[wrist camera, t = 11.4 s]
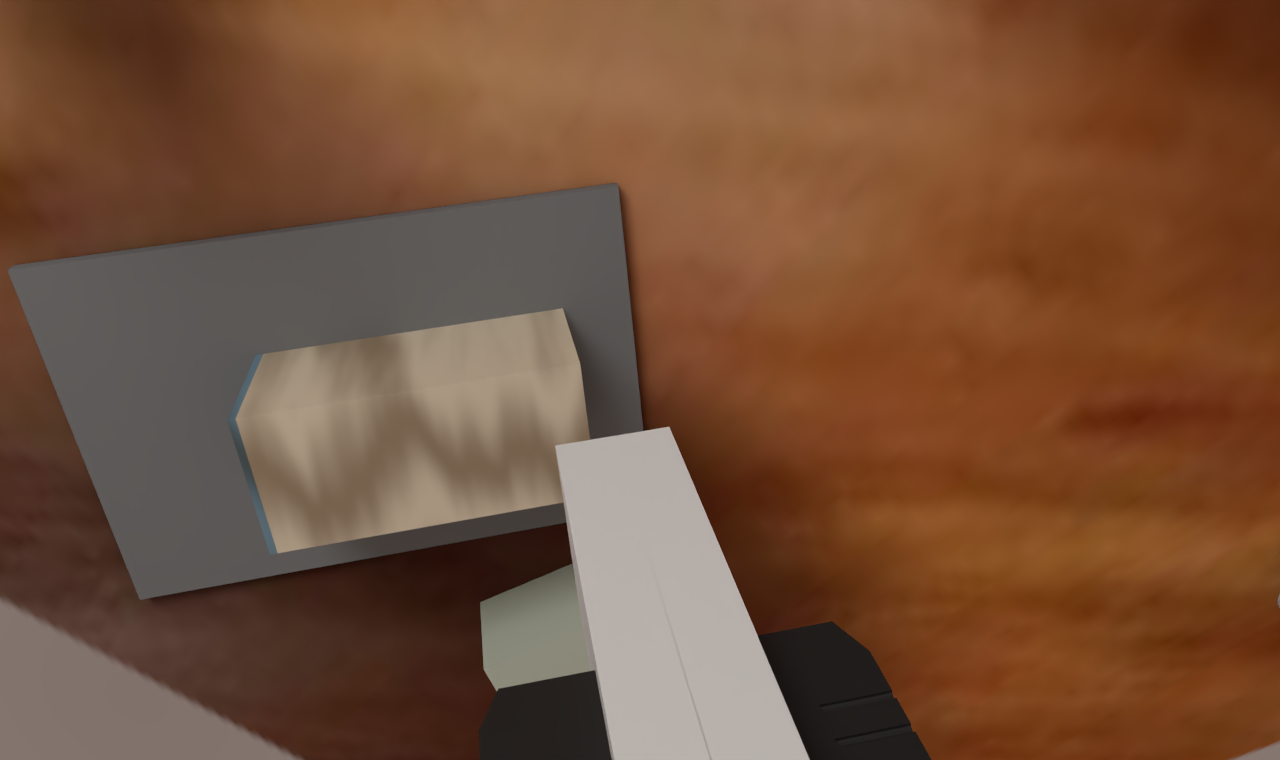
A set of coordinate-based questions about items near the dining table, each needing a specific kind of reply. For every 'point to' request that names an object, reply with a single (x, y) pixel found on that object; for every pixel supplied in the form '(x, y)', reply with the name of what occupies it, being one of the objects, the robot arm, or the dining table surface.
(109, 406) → the rubber mat
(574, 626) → the sage cube
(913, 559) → the dining table surface
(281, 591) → the dining table surface
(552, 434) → the beech block
